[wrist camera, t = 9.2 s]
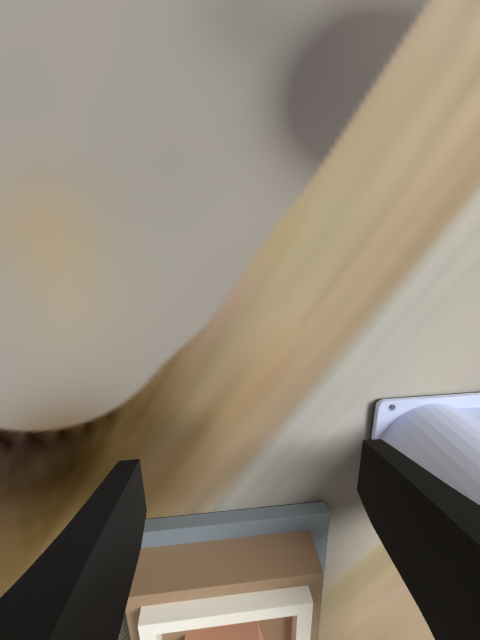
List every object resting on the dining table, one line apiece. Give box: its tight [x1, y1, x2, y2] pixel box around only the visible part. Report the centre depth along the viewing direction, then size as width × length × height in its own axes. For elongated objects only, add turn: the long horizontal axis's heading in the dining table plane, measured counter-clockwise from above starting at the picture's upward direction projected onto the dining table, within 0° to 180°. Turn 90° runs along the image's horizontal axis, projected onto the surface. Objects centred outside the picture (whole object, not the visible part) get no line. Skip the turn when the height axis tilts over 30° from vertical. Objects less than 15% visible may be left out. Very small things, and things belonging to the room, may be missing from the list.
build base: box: [125, 501, 330, 640], centre depth 23 cm, size 16×16×5 cm
